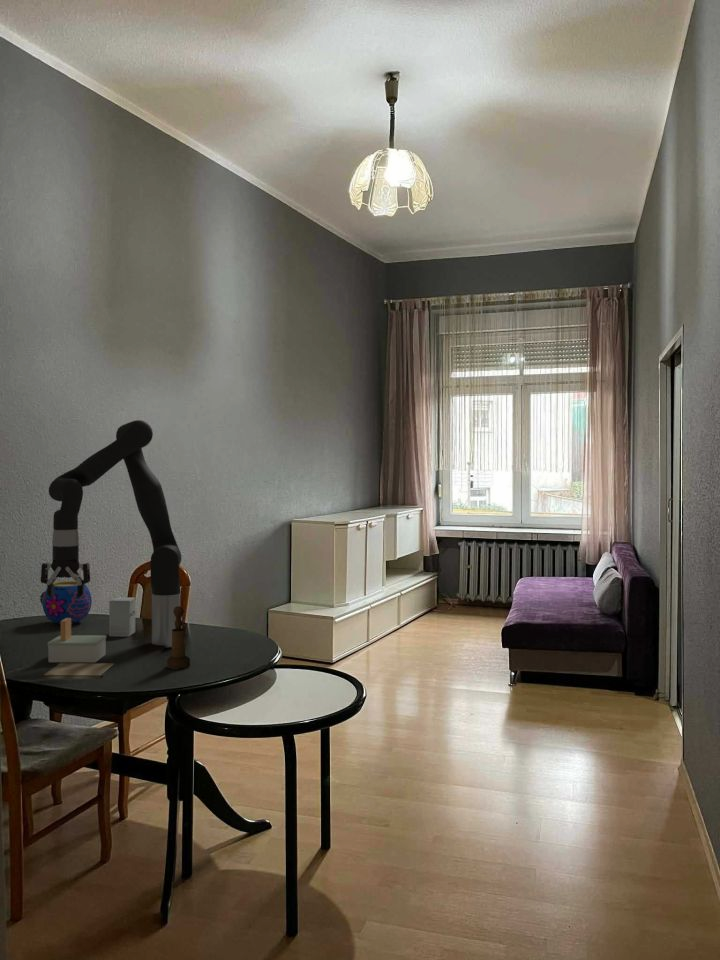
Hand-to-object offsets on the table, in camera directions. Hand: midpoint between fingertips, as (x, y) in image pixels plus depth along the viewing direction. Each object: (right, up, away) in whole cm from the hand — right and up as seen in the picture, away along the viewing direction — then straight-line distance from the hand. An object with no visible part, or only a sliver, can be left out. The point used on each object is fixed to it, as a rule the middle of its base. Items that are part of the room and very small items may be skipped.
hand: (65, 597), depth 248 cm
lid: (+4, -14, 0) cm, 14 cm away
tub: (+4, -20, 0) cm, 20 cm away
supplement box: (+6, -19, +38) cm, 43 cm away
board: (+9, -20, -13) cm, 25 cm away
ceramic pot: (-20, -18, +57) cm, 63 cm away
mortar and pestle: (+36, -20, -5) cm, 41 cm away
